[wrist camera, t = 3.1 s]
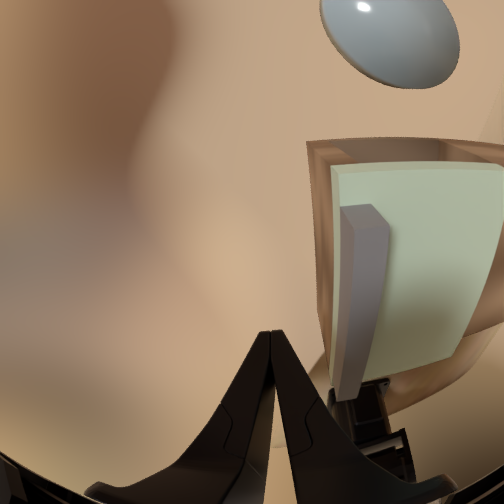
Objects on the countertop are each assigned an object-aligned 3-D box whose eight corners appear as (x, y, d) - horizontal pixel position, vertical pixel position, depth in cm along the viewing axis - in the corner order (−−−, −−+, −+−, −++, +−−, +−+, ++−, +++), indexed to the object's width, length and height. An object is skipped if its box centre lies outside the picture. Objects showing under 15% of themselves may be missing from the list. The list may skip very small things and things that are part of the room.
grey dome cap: (454, 95, 10) (467, 97, 9) (333, 86, 11) (340, 85, 10) (431, -17, 6) (441, -22, 5) (305, -38, 7) (308, -48, 6)
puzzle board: (509, 270, 16) (538, 304, 12) (317, 309, 18) (328, 370, 14) (534, 150, 10) (578, 174, 6) (305, 141, 12) (329, 165, 8)
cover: (445, 344, 13) (460, 375, 11) (328, 371, 14) (334, 410, 12) (496, 163, 7) (536, 185, 5) (330, 165, 8) (354, 191, 6)
